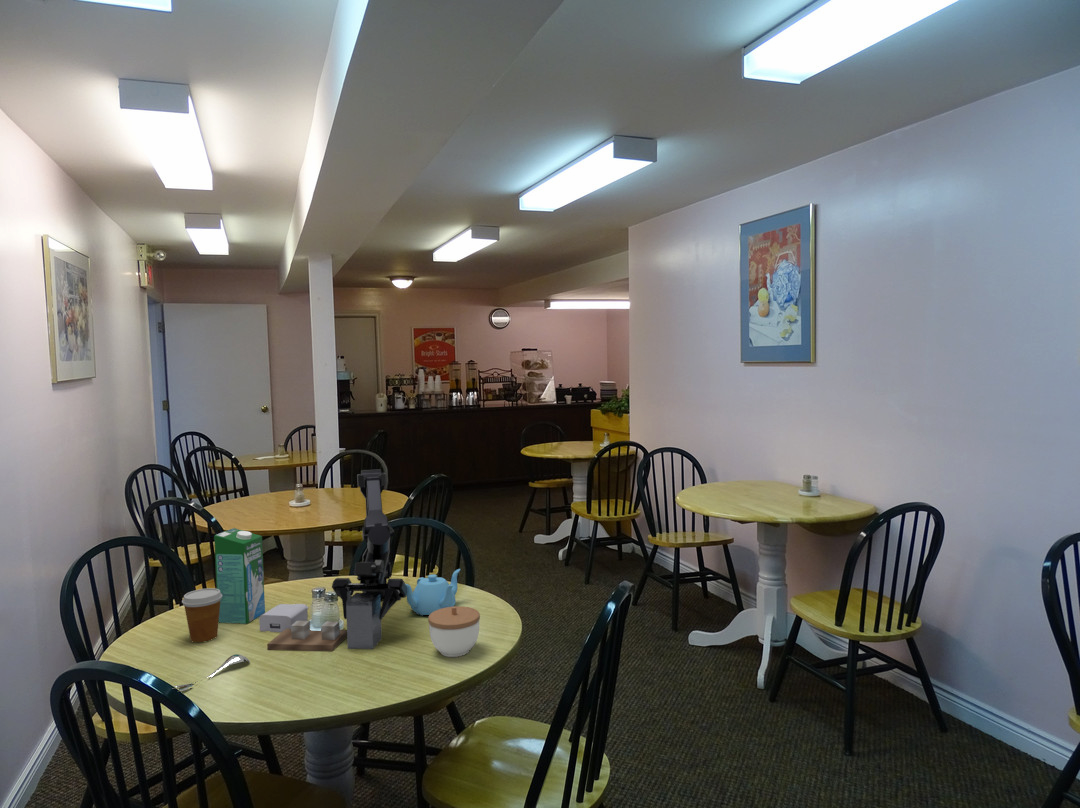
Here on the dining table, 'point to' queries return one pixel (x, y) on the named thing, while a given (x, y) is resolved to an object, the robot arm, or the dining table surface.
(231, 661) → the silver metal spoon
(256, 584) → the milk carton
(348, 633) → the dark grey tall block
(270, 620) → the charger
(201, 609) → the disposable coffee cup
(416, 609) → the teapot
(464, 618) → the lidded bowl
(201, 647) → the dining table surface
